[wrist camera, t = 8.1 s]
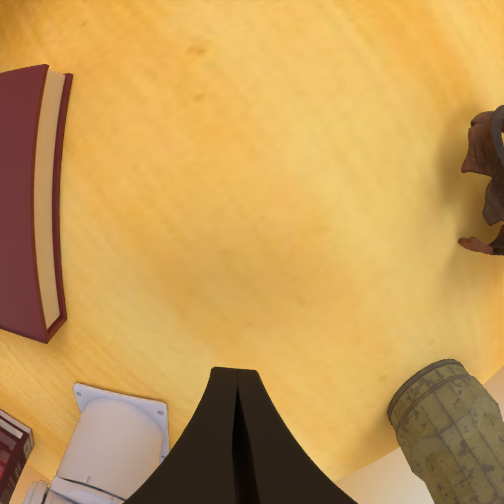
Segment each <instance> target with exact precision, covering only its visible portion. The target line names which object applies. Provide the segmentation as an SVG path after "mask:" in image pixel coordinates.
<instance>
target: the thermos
mask: <svg viewBox="0 0 504 504" xmlns="http://www.w3.org/2000/svg"><path fill="white" fill-rule="evenodd" d="M387 414H388V418H389V421H390V423H391V425H392V426H393V427H394V429H395V431H396V437H397V441H398V443H399V445H400V447H401V449H402V451H403V453H404V455H405V458H406V460H407V462H408V464H409V466H410V468H411V470H412V472H413V473H414V474H415V475H417V476H418V477H419V478H420V479H422V480H423V481H424V482H425V484H426V486H427V488H428V490H429V492H430V494H431V496H432V499H433V501H434V503H435V504H504V422H503V421H502V417H501V413H500V409H499V406H498V404H497V403H496V401H495V400H494V399H493V398H492V397H491V395H490V394H489V393H488V392H487V391H486V389H485V388H484V387H483V386H482V385H481V383H480V382H479V381H478V380H477V379H476V378H475V377H473V376H471V375H469V374H468V372H467V371H466V370H465V369H464V367H463V365H462V364H461V363H460V362H458V361H456V360H454V359H447V360H441V361H438V362H436V363H433V364H431V365H429V366H427V367H426V368H424V369H422V370H420V371H419V372H417V373H416V374H415V375H414V376H413V377H411V378H410V379H409V380H408V381H407V382H406V383H405V384H404V385H403V386H402V387H401V388H400V389H399V390H398V391H397V393H396V394H395V396H394V397H393V399H392V401H391V402H390V404H389V408H388V412H387Z"/></svg>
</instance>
